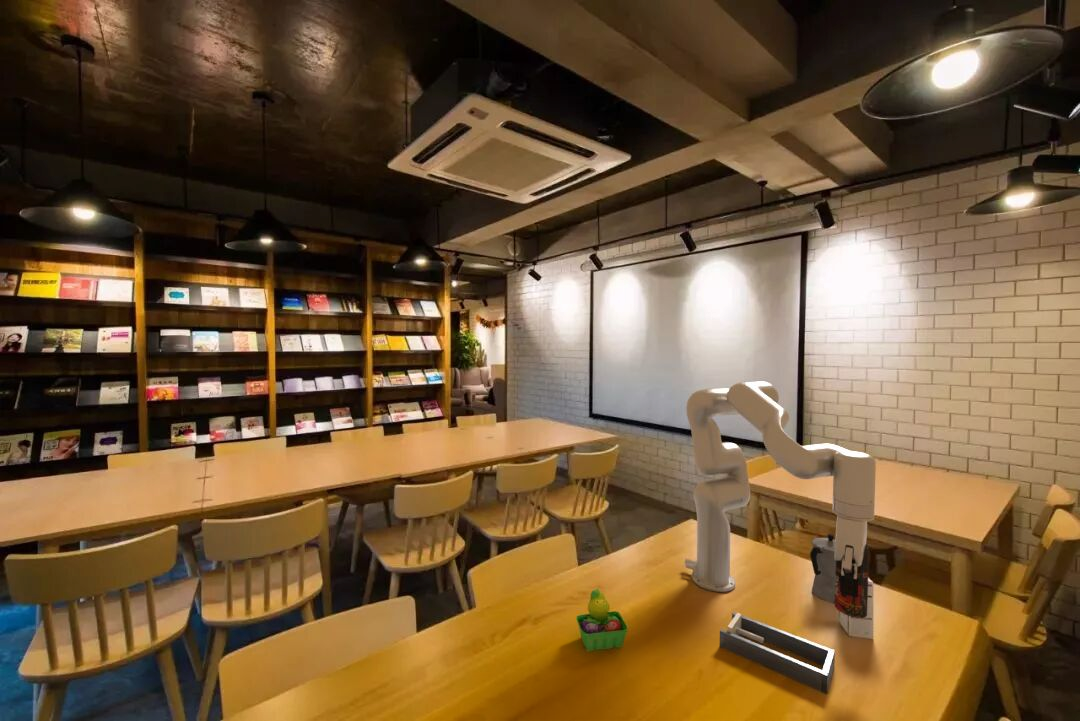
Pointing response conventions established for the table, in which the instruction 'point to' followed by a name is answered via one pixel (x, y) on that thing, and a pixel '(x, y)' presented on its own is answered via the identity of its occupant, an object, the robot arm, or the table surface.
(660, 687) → the table surface
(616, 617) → the fruit basket
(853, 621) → the syrup box
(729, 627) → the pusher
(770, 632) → the frame
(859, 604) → the deodorant
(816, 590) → the coffeepot
